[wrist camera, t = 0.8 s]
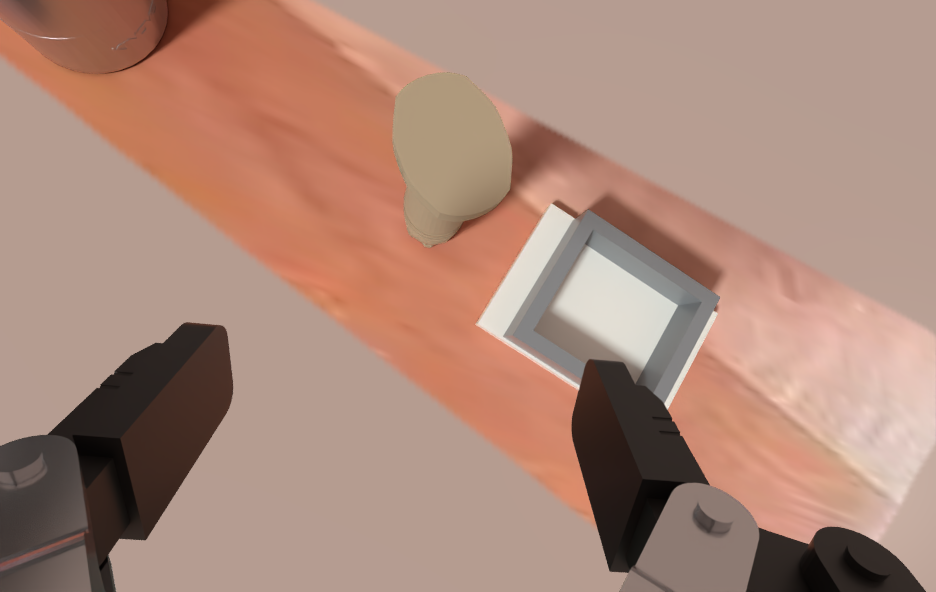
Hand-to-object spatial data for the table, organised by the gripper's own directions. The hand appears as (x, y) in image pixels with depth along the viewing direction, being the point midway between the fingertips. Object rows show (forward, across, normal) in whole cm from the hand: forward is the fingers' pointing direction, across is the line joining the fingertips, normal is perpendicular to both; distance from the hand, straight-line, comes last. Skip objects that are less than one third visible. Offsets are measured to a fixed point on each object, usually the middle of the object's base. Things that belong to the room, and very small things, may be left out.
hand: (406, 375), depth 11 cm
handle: (+26, 0, +5) cm, 26 cm away
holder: (+23, -12, +10) cm, 28 cm away
